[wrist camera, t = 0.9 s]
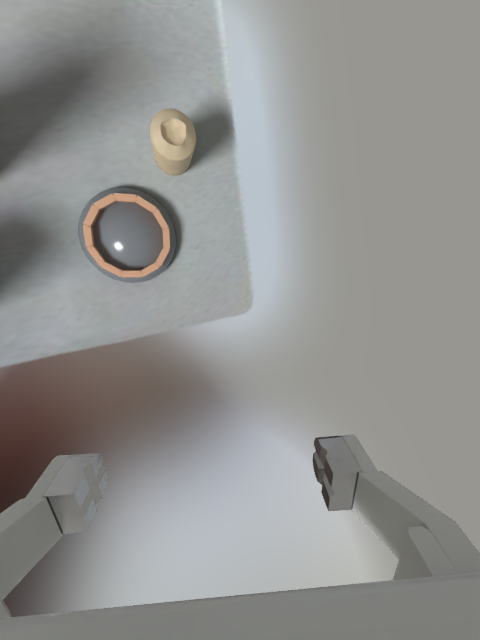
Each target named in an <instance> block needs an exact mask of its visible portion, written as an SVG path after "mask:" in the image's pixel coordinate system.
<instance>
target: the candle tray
mask: <svg viewBox="0 0 480 640" xmlns="http://www.w3.org/2000/svg"><path fill="white" fill-rule="evenodd" d="M79 238H80V243H81V246H82V249H83V251H84V253H85V255H86V256H87V258H88V259H89V260H90V262H91V263H92V264H93V265H94V266H95V267H96V268H97V269H98V270H99V271H101V272H102V273H103V274H105V275H107V276H109V277H111V278H113V279H116V280H119V281H123V282H132V283H134V282H143V281H147V280H150V279H152V278H154V277H156V276H157V275H159V274H160V273H161V272H163V271H164V270H165V269H166V267H167V266H168V265H169V263H170V262H171V260H172V258H173V255H174V252H175V247H176V234H175V229H174V225H173V223H172V220H171V218H170V216H169V215H168V213H167V212H166V210H165V209H164V208H163V207H162V205H161V204H160V203H159V202H157V201H156V200H155V199H154V198H152V197H151V196H149V195H147V194H146V193H144V192H141V191H139V190H135V189H131V188H112V189H108V190H105V191H103V192H101V193H99V194H97V195H96V196H94V197H93V198H92V199H91V200H90V201H89V202H88V203H87V205H86V206H85V208H84V209H83V211H82V214H81V216H80V221H79Z"/></svg>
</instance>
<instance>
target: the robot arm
mask: <svg viewBox="0 0 480 640" xmlns="http://www.w3.org/2000/svg"><path fill="white" fill-rule="evenodd" d="M314 446H315V449H316V451H315V453H314V454H313V467H314V472H315V475H316V478H317V481H318V482H319V483H320V484H321V485H322V495H323V498H324V500H325V503H326V506H327V509H328V511H337V510H352V512H353V513H354V514H355V515H356V516H357V517H358V518H359V519H360V520H361V521H362V522H363V523H364V524H365V525H366V526H367V527H368V528H369V529H370V530H371V531H372V532H373V533H374V534H375V535H376V536H377V537H378V539H379V540H380V541H382V543H383V544H384V545H385V546H386V547H387V548H388V549H389V550H390V551H391V552H392V553H393V554H394V555H395V556H396V557H397V558H398V559H399V561H398V565H397V568H396V571H395V575H394V578H393V580H390V581H381V582H371V583H360V584H350V585H339V586H329V587H319V588H309V589H298V590H288V591H278V592H267V593H257V594H247V595H236V596H226V597H216V598H206V599H195V600H185V601H174V602H164V603H154V604H144V605H134V606H124V607H113V608H104V609H94V610H83V611H72V612H62V613H52V614H42V615H31V616H22V617H11V616H10V611H9V610H8V608H7V607H6V605H5V604H4V602H3V601H2V600H3V599H4V598H5V597H6V596H7V595H8V594H9V592H10V591H11V590H12V589H13V588H14V587H15V586H16V585H17V584H18V583H19V582H20V581H21V580H22V579H23V578H24V576H25V575H26V574H27V573H28V572H29V571H30V570H31V569H32V568H33V567H34V566H35V565H36V563H37V562H38V561H39V560H40V559H41V558H42V557H43V556H44V555H45V554H46V553H47V552H48V551H49V550H50V548H51V547H52V546H53V545H54V544H55V543H56V542H57V541H58V540H59V539H60V538H61V537H62V534H69V533H77V532H86V531H89V528H90V526H91V524H92V521H93V519H94V517H95V515H96V512H97V508H96V504H97V503H98V502H99V501H100V500H101V499H102V498H103V496H104V494H105V491H106V487H107V482H108V474H107V471H106V469H105V468H104V467H102V466H101V465H102V463H103V461H104V460H103V458H102V455H101V454H79V455H63V456H57V457H55V458H54V459H53V460H52V461H51V463H50V464H49V466H48V467H47V468H46V470H45V471H44V473H43V474H42V476H41V477H40V478H39V480H38V481H37V483H36V484H35V485H34V487H33V488H32V490H31V491H30V492H29V494H28V495H27V497H26V498H25V499H20V500H19V501H17V502H16V503H15V504H13V505H12V506H10V507H9V508H8V509H6V510H5V511H4V512H2V513H1V514H0V640H480V553H479V552H478V550H477V549H476V548H475V546H474V545H473V544H472V543H471V541H470V540H469V539H468V537H467V536H466V535H465V533H464V532H463V531H462V529H461V528H460V527H459V526H458V524H457V523H456V522H455V521H454V520H452V519H451V518H449V517H448V516H446V515H445V514H443V513H442V512H441V511H439V510H438V509H436V508H435V507H433V506H432V505H430V504H429V503H428V502H426V501H425V500H423V499H422V498H420V497H419V496H417V495H416V494H414V493H413V492H412V491H410V490H409V489H407V488H406V487H404V486H403V485H401V484H400V483H398V482H397V481H396V480H394V479H393V478H391V477H390V476H388V475H387V474H386V473H384V472H382V471H377V469H376V467H375V466H374V464H373V463H372V461H371V459H370V458H369V456H368V455H367V453H366V451H365V450H364V448H363V447H362V445H361V443H360V442H359V440H358V439H357V437H356V436H355V435H343V436H330V437H318V438H315V440H314Z"/></svg>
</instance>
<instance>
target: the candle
mask: <svg viewBox="0 0 480 640" xmlns="http://www.w3.org/2000/svg"><path fill="white" fill-rule="evenodd" d="M150 135H151V142H152V147H153V153H154V158H155V161H156V163H157V165H158V166H159V168H160V169H161V170H162V171H164V172H165V173H167V174H169V175H180V174H182V173H184V172H185V171H186V170H187V169H188V167H189V165H190V163H191V159H192V156H193V152H194V149H195V145H196V132H195V129H194V126H193V124H192V122H191V121H190V119H189V118H188V117H187V116H186V115H185V114H183V113H182V112H180V111H178V110H175V109H164V110H162V111H160V112H158V113H157V114H156V115H155V116H154V118H153V120H152V122H151V126H150Z"/></svg>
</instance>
